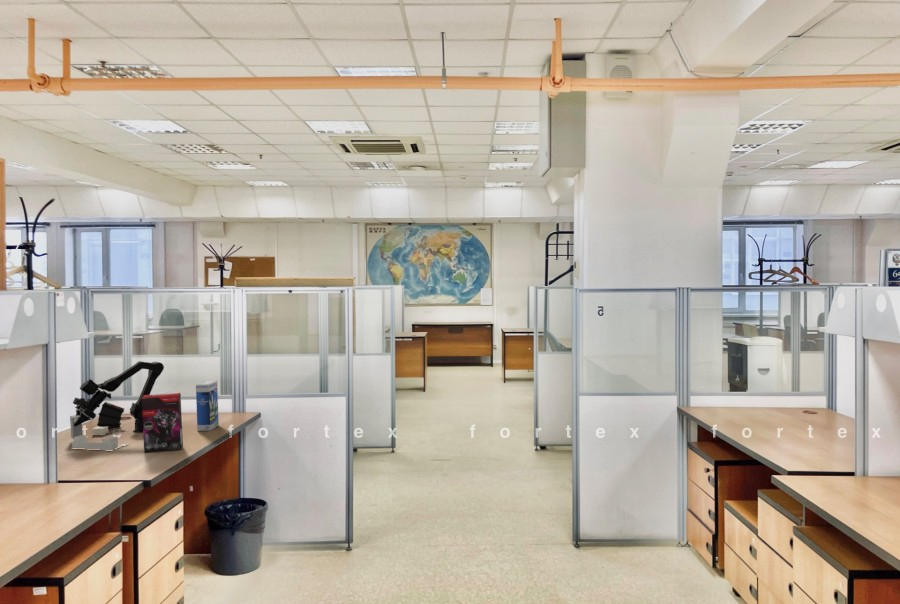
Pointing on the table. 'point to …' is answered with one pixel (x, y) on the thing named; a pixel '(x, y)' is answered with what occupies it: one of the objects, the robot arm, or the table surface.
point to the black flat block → (110, 416)
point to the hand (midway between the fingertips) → (73, 425)
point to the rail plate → (106, 444)
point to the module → (75, 430)
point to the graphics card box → (162, 422)
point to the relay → (100, 430)
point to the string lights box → (207, 405)
